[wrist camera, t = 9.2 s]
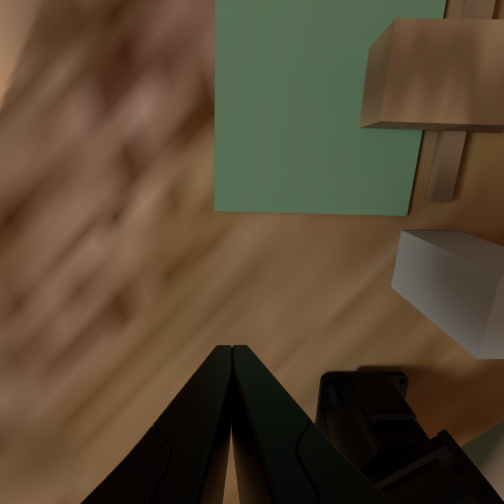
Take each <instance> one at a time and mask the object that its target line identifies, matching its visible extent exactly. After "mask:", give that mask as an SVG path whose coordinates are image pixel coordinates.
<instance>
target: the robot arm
mask: <svg viewBox="0 0 504 504" xmlns="http://www.w3.org/2000/svg"><path fill="white" fill-rule="evenodd" d="M400 379H402V380H400ZM327 380H330V381H329V382H326V381H327ZM399 380H400V381H399ZM407 386H408V378H407V376H406V375H405V374H404V373H401V372H389V373H327V374H324V375H322V377H321V379H320V387H319V396H318V404H317V412H316V421H315V423H314V422H312V420H311V419H310V418H309V417H308V415H307V414H306V413H305V412H304V411H303V410H302V408H301V407H300V406H299V405H298V404H297V403H296V401H295V400H294V399H293V398H292V397H291V396H290V394H289V393H288V392H287V391H286V390H285V389H284V387H283V386H282V385H281V384H280V383H279V382H278V380H277V379H276V378H275V377H274V376H273V375H272V373H271V372H270V371H269V370H268V369H267V368H266V366H265V365H264V364H263V363H262V362H261V361H260V360H259V358H258V357H257V356H256V355H255V354H254V353H253V351H252V350H251V349H250V348H249V347H248V346H247V345H234V346H233V347H231V346H230V345H217V346H216V347H215V348H214V349H213V350H212V352H211V353H210V354H209V355H208V357H207V358H206V359H205V360H204V362H203V363H202V364H201V365H200V367H199V368H198V369H197V370H196V372H195V373H194V374H193V375H192V377H191V378H190V379H189V380H188V382H187V383H186V384H185V385H184V387H183V388H182V389H181V390H180V392H179V393H178V394H177V395H176V396H175V398H174V399H173V400H172V401H171V403H170V404H169V405H168V406H167V408H166V409H165V410H164V411H163V413H162V414H161V415H160V416H159V418H158V419H157V420H156V421H155V423H154V424H153V426H151V427H150V428H149V430H148V431H147V432H146V434H145V435H144V436H143V437H142V438H141V440H140V441H139V442H138V443H137V444H136V446H135V447H134V448H133V449H132V450H131V451H130V453H129V454H128V455H127V456H126V457H125V458H124V459H123V460H122V461H121V462H120V463H119V465H118V466H117V467H116V468H115V469H114V470H113V471H112V472H111V473H110V474H109V475H108V476H107V477H106V478H105V479H104V480H103V481H102V482H101V483H100V484H99V485H98V486H97V487H96V488H95V489H94V490H93V491H92V492H91V493H90V494H89V495H88V496H87V497H86V498H85V499H84V500H83V501H82V502H81V503H80V504H222V503H223V495H224V487H225V479H226V471H227V463H228V455H229V446H230V437H231V429H232V443H233V451H234V459H235V467H236V476H237V484H238V492H239V500H240V504H504V501H503V500H502V499H501V497H500V496H499V495H498V494H497V492H496V491H495V490H494V489H493V487H492V486H491V485H490V483H489V482H488V481H487V480H486V478H485V477H484V476H483V475H482V474H481V472H480V471H479V470H478V469H477V467H476V466H475V465H474V464H473V462H472V461H471V460H470V459H469V458H468V456H467V455H466V454H465V453H464V451H463V450H462V449H461V448H460V447H459V445H458V444H457V443H456V442H455V440H454V439H453V438H452V437H451V436H450V434H449V433H448V432H447V431H446V429H444V430H442V431H441V432H439V433H437V434H438V435H437V436H436V437H434V438H432V439H429V437H428V436H427V434H426V433H425V432H424V430H423V429H422V427H421V426H420V424H419V423H418V422H417V420H416V415H415V414H414V412H413V411H412V409H411V408H410V406H409V405H408V404H407V402H406V401H405V395H406V391H407Z"/></svg>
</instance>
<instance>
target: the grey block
mask: <svg viewBox="0 0 504 504" xmlns="http://www.w3.org/2000/svg"><path fill="white" fill-rule="evenodd" d="M391 287H392V288H393V289H394V290H395V291H396V292H398V293H399V294H400V295H401V296H402V297H404V298H405V299H406V300H407V301H408V302H409V303H411V304H412V305H413V306H414V307H415V308H417V309H418V310H419V311H420V312H421V313H423V314H424V315H425V316H426V317H427V318H429V319H430V320H431V321H432V322H433V323H435V324H436V325H437V326H438V327H439V328H441V329H442V330H443V331H444V332H445V333H446V334H448V335H449V336H450V337H451V338H452V339H454V340H455V341H456V342H457V343H458V344H460V345H461V346H462V347H463V348H464V349H466V350H467V351H468V352H469V353H470V354H472V355H473V356H474V357H475V358H476V359H504V246H501V245H498V244H495V243H492V242H489V241H487V240H484V239H481V238H478V237H475V236H472V235H469V234H466V233H463V232H460V231H420V230H401V235H400V240H399V246H398V251H397V257H396V263H395V268H394V274H393V279H392V285H391Z"/></svg>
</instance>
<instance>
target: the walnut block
mask: <svg viewBox="0 0 504 504" xmlns="http://www.w3.org/2000/svg"><path fill="white" fill-rule="evenodd" d="M359 128H376V129H405V130H435V131H464V132H494V133H504V20H497V19H425V18H395V19H394V20H393V21H392V23H391V24H390V25H389V26H388V27H387V28H386V29H385V30H384V32H383V33H382V34H381V35H380V36H379V37H378V38H377V40H376V41H375V42H374V43H373V44H372V45H371V46H370V48H369V52H368V60H367V68H366V76H365V84H364V91H363V99H362V107H361V115H360V123H359Z"/></svg>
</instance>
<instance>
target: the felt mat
mask: <svg viewBox="0 0 504 504" xmlns="http://www.w3.org/2000/svg"><path fill="white" fill-rule="evenodd" d="M445 4H446V0H215V211H234V212H274V213H314V214H354V215H394V216H407V213H408V207H409V202H410V196H411V191H412V185H413V180H414V174H415V169H416V163H417V158H418V152H419V147H420V141H421V136H422V130H405V129H376V128H359V123H360V115H361V107H362V99H363V91H364V84H365V76H366V68H367V60H368V52H369V48H370V46H371V45H372V44H373V43H374V42H375V41H376V40H377V38H378V37H379V36H380V35H381V34H382V33H383V32H384V30H385V29H386V28H387V27H388V26H389V25H390V24H391V23H392V21H393V20H394V19H395V18H425V19H443V15H444V10H445Z"/></svg>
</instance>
